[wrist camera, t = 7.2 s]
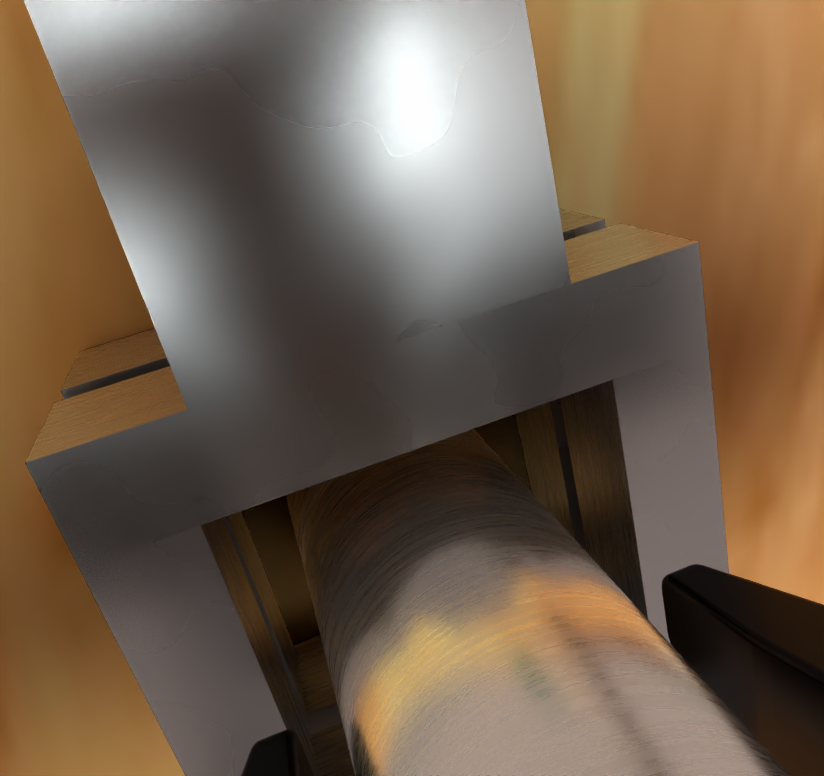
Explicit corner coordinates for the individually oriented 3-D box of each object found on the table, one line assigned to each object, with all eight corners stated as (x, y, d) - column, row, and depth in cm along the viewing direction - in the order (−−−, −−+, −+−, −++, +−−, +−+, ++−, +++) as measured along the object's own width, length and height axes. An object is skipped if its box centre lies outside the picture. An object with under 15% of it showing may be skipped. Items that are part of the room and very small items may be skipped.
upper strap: (612, 577, 14) (742, 718, 11) (247, 725, 13) (266, 932, 10) (499, -100, 10) (657, -214, 6) (-65, 31, 8) (-224, -25, 5)
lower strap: (664, 884, 17) (706, 954, 16) (380, 1022, 16) (398, 1110, 15) (551, 206, 11) (604, 218, 10) (79, 351, 10) (60, 390, 9)
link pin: (495, 525, 13) (1202, 1473, 4) (318, 592, 12) (661, 1866, 3) (456, 357, 12) (1364, 1175, 3) (258, 424, 11) (546, 1725, 2)
